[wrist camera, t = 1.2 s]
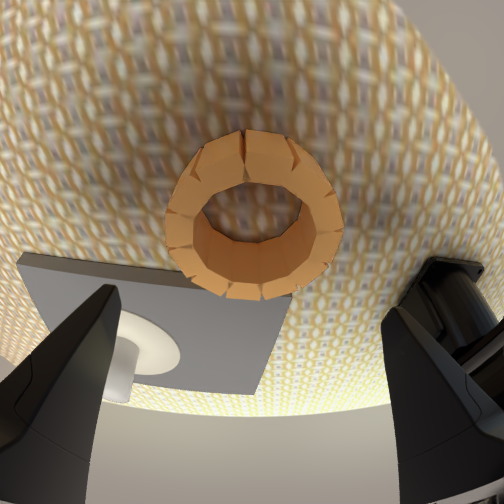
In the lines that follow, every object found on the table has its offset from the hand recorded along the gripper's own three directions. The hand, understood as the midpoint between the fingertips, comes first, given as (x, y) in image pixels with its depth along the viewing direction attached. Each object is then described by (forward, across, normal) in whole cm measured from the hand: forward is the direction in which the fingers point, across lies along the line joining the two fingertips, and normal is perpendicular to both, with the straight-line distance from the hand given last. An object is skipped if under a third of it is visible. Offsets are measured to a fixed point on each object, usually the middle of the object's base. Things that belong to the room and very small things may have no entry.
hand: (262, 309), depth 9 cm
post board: (+6, +6, +12) cm, 15 cm away
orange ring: (+6, 0, 0) cm, 7 cm away
